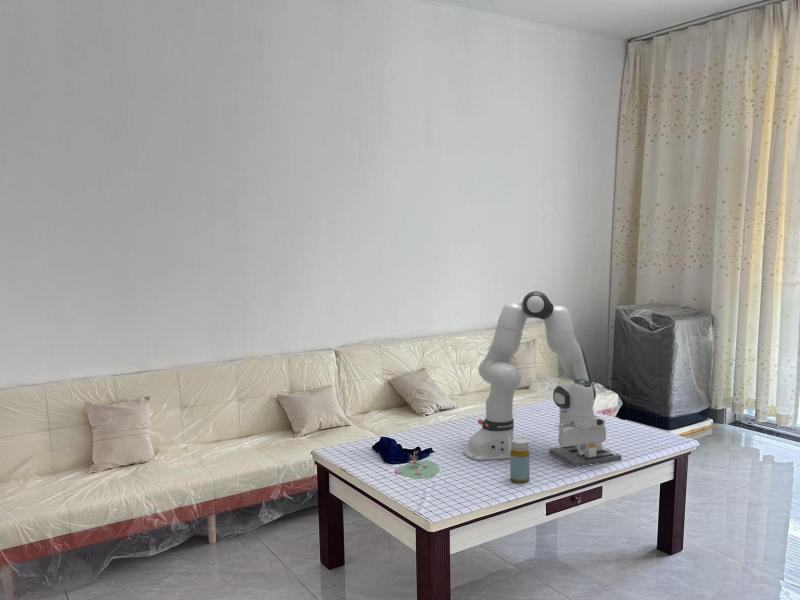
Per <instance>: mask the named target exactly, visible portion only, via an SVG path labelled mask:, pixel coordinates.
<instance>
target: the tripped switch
mask: <svg viewBox="0 0 800 600" xmlns="http://www.w3.org/2000/svg"><path fill="white" fill-rule="evenodd" d="M596 447H597V446H594V445H592V444H590V445H589V447H588V449H587V451H586V455H584V456H586V457H588V458H589V457H595V456H596Z"/></svg>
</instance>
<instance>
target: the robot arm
mask: <svg viewBox="0 0 800 600" xmlns="http://www.w3.org/2000/svg"><path fill="white" fill-rule="evenodd" d="M528 319H539V320H542V322H543V323H544V326H545V336H546V343H547V346H548V348H549V349H550V350H551V351H552V352H554V353H555V354H557V355H559V356H562V357H565V358H567V359H568V360H569V361H570V362H571V363H572V364H571V365H572V368H573V371H574V374H575V375H574V376H575V378H574V379H573V380H572V381H571V382H569V383H566V384H560V385H556V386H555V388H554V389H553V393H552V398H553V402H554V404H555V405H556V407H558V408H559V409H560V408H569V409H571V422H569V423H563V424H562V425H563V426H562V425H561V426H560V425H559V427H558V428H559V429H558V431H559V432H558V439H557V441H558V442H557V443H558V444H559V446H560V447H569V446H575V447H576V448H577V450H578V455H586V451H587V449H588V447H589V444H590V443H597V442H602V443H603V442H605V441H606V438H607V430H606V426H605V424H606V420H605V419H604V418H602V417H600V416H596V415H595V413H594V404H595V400H596V397H597V393H596V392H597V391H596V388H595V385H594V384H593V382H592V379H591V375H590V371H589V366H588V363H587V359H586V356H585V353H584V349H583V348H582V346H581V345H580V344H579V343H578V341H577V338H576V336H575V332H574V324H573V320H572V316H571V313H570V311H569V309H568V308H567V307H565V306H563V305H554V304H553V303H552V302H551V300H550V299H549V297H548V296H547V295H546V294H545V292H542V291H538V290H535V291H531V292H528V293H527V294H526V295H525V296H524V297H523V300H521V302H508V303H506V304H504V305H503V307H502V309H501V312H500V314H499V317H498V320H497V324H496V328H495V332H494V335H493V338H492V339H493V340H492V343H491V345H490V348H489V350H488V353H487V354H486V356H485V358H483V360H482V361H481V362H480V363H479V365H478V374H479V375H480V377H481V378H482V379H483V381H484V382H486V383H487V384H490V391H489V395H488V397H487V398H486V401H485V419H484V420H483V419H481V418H479V419H478V420H477V423H478V424H479V425H482V426H481V427H480V429H479V430H478V431H476V432H475V433H474V434H473V435H471V437H470V438H469V441H468V444H467V447H464V448H463V450H462V453H463V454H464V455H465V456H466V457H468V458H469V459H471V460H474V461H489V460H502V459H503V460H505V459H510V452H511V449H512V448H511V447H512V446H511V440H512V439H514V428H515V427H514V426H515V425H514V418H513V405H514V397H515V396H514V395H515V393H516V389H517V388H518V387H519V386H520V384H521V382H522V381H521V380H522V375H521V373H520V371H519V370H518V369H517V368H516V367H515V366H514V365H513V364H511V360H512V358H513V356H514V355H515V354H516V353H518V351H519V348H520V346H521V345H520V344H521V341H522V337H523V332H524V328H525V324H526V322H527V321H528ZM581 445H584V447H583V449H582V450H581V448H580V447H581Z"/></svg>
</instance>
